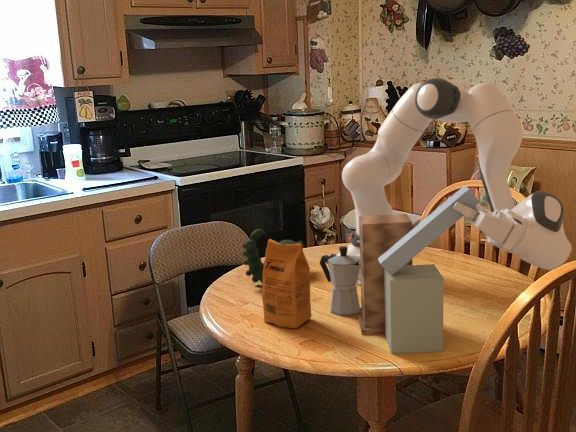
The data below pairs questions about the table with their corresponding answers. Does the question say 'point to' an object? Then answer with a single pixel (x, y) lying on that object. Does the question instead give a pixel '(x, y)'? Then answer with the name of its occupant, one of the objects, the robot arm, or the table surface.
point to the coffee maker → (342, 281)
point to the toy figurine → (254, 258)
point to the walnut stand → (377, 265)
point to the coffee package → (286, 285)
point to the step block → (414, 309)
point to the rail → (426, 231)
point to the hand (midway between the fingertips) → (451, 201)
